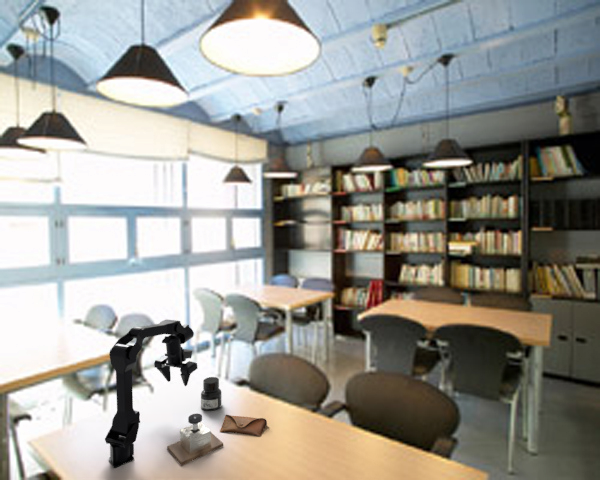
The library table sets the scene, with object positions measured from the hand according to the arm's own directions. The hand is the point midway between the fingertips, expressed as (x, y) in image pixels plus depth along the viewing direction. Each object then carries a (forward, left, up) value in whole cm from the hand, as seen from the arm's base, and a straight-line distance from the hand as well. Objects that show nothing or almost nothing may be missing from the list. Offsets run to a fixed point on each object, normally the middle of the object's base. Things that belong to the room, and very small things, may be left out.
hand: (177, 383), depth 152 cm
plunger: (-5, -25, -9) cm, 27 cm away
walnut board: (-5, -25, -14) cm, 29 cm away
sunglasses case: (+15, -27, -15) cm, 34 cm away
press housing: (-5, -25, -13) cm, 29 cm away
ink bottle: (+14, -2, -14) cm, 20 cm away
